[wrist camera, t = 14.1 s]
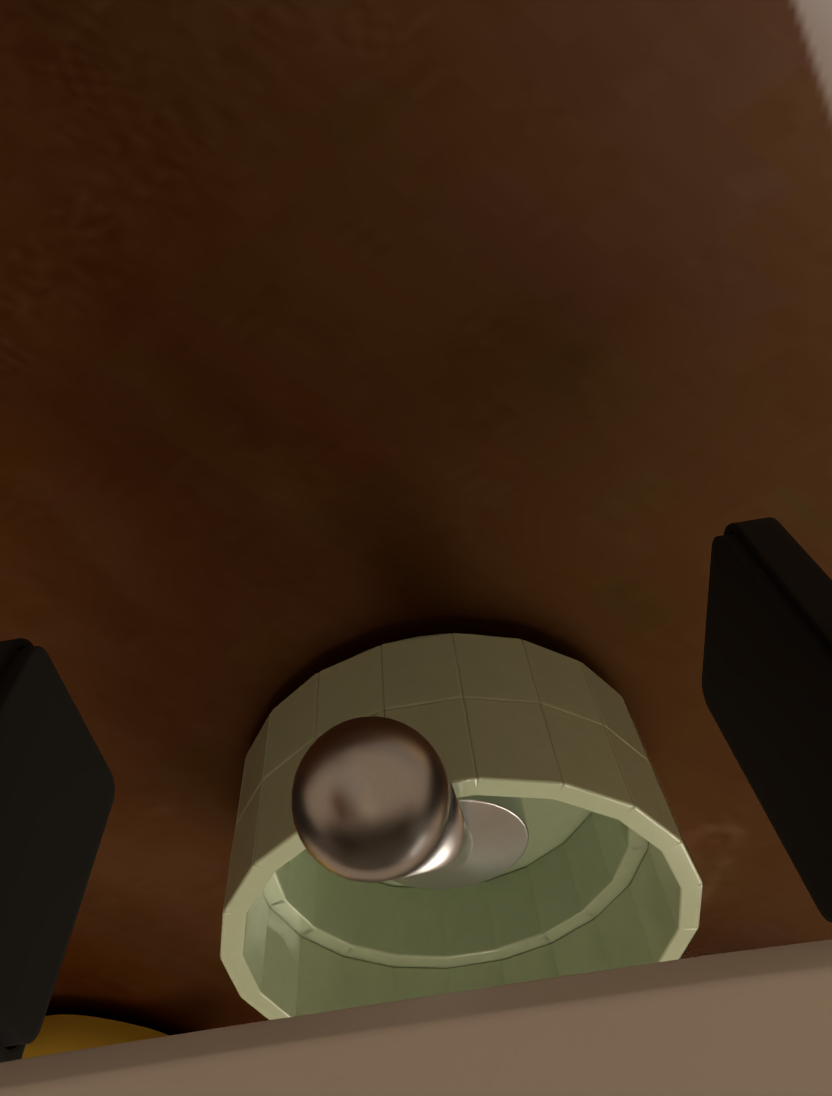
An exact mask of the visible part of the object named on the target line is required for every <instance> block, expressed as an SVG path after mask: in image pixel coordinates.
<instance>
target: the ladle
mask: <svg viewBox="0 0 832 1096" xmlns="http://www.w3.org/2000/svg"><path fill="white" fill-rule="evenodd" d="M291 808H292V814H293V820H294V825H295V827H296V830H297V832H298V835H299V838H300V840H301V841H302V843H303V845H304V846H305V848H306V849H307V851H308V852H309V854H310V855H311V856H312V857H313V858H314V859H315V860H316V861H317V862H318V863H319V864H320V865H322V866H323V867H325V868H326V869H327V870H329V871H330V872H332V873H334V874H336V875H338V876H339V877H342V878H345V879H348V880H351V881H356V882H363V883H375V882H384V881H388V880H393V881H395V882H398V883H400V884H403V885H407V886H410V887H415V888H422V889H453V888H461V887H466V886H470V885H474V884H478V883H481V882H484V881H487V880H489V879H491V878H494V877H496V876H497V875H499V874H501V873H503V872H504V871H506V870H507V869H509V868H510V867H511V866H513V865H514V864H515V863H516V862H517V861H518V860H519V859H520V858H521V856H522V855H523V853H524V852H525V850H526V848H527V844H528V840H529V832H528V828H527V823H526V819H525V814H524V809H523V805H522V800H521V798H517V797H499V796H482V795H473V796H466V797H460V798H457V797H456V794H455V792H454V789H453V787H452V784H451V782H450V779H449V777H448V774H447V772H446V769H445V767H444V764H443V762H442V760H441V758H440V756H439V754H438V753H437V752H436V750H435V749H434V747H433V746H432V745H431V744H430V742H429V741H428V740H427V739H426V738H425V737H424V736H422V735H421V734H420V733H419V732H418V731H416V730H415V729H413V728H412V727H410V726H408V725H406V724H404V723H402V722H399V721H396V720H393V719H391V718H385V717H378V716H367V717H358V718H354V719H350V720H346V721H344V722H342V723H340V724H338V725H336V726H334V727H332V728H330V729H329V730H328V731H326V732H325V733H324V734H322V735H321V736H320V737H319V738H318V739H317V740H316V741H315V742H314V743H313V744H312V745H311V746H310V747H309V749H308V751H307V752H306V754H305V755H304V757H303V758H302V760H301V762H300V764H299V767H298V769H297V772H296V774H295V778H294V783H293V788H292V803H291Z"/></svg>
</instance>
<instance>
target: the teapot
mask: <svg viewBox="0 0 832 1096" xmlns="http://www.w3.org/2000/svg"><path fill="white" fill-rule="evenodd" d="M164 1036H170V1035H167V1034H164V1033H162V1032H159V1031H156V1030H152V1029H149V1028H146V1027H142V1026H138V1025H134V1024H130V1023H125V1022H120V1021H115V1020H110V1019H104V1018H99V1017H92V1016H83V1015H67V1014H61V1015H49V1016H45V1018H44V1021H43V1024H42V1027H41V1029H40V1032H39V1034H38V1036H37V1037H36V1039H35V1040H34V1041H33V1042H31V1043H29V1044H26V1046H25V1049H24V1052H23V1055H22V1058H21V1059H24V1058H30V1057H36V1056H43V1055H49V1054H55V1053H62V1052H68V1051H75V1050H81V1049H87V1048H94V1047H100V1046H107V1045H113V1044H119V1043H126V1042H132V1041H139V1040H145V1039H151V1038H158V1037H164Z"/></svg>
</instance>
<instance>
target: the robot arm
mask: <svg viewBox="0 0 832 1096" xmlns="http://www.w3.org/2000/svg"><path fill="white" fill-rule="evenodd" d="M702 688H703V694H704V698H705V701H706V704H707V706H708V708H709V710H710V712H711V713H712V715H713V717H714V719H715V721H716V723H717V724H718V726H719V728H720V730H721V732H722V734H723V735H724V737H725V739H726V741H727V743H728V745H729V746H730V748H731V750H732V752H733V754H734V756H735V757H736V759H737V761H738V763H739V765H740V767H741V768H742V770H743V772H744V774H745V776H746V778H747V779H748V781H749V783H750V785H751V787H752V789H753V790H754V792H755V794H756V796H757V798H758V800H759V802H760V803H761V805H762V807H763V809H764V811H765V813H766V814H767V816H768V818H769V820H770V822H771V824H772V825H773V827H774V829H775V831H776V833H777V835H778V836H779V838H780V840H781V842H782V844H783V846H784V847H785V849H786V851H787V853H788V855H789V857H790V858H791V860H792V862H793V864H794V866H795V868H796V869H797V871H798V873H799V875H800V877H801V879H802V880H803V882H804V884H805V886H806V888H807V890H808V891H809V893H810V895H811V897H812V899H813V901H814V902H815V904H816V906H817V908H818V910H819V911H820V913H821V914H822V916H823V917H824V918H825V919H826V920H827V921H829V922H832V580H831V579H830V578H829V577H828V576H827V575H826V574H825V572H824V571H823V570H822V569H821V568H820V567H819V566H818V565H817V564H816V563H815V561H814V560H813V559H812V558H811V557H810V556H809V555H808V554H807V553H806V552H805V550H804V549H803V548H802V547H801V546H800V545H799V544H798V543H797V542H796V541H795V539H794V538H793V537H792V536H791V535H790V534H789V533H788V532H787V531H786V530H785V528H784V527H783V526H782V525H781V524H780V523H779V522H778V521H777V520H776V519H774V518H770V517H768V518H762V519H756V520H750V521H743V522H737V523H731V524H729V525H728V526H727V527H726V529H725V531H724V535H723V536H717V537H715V538H714V540H713V543H712V551H711V565H710V578H709V592H708V605H707V618H706V632H705V645H704V658H703V672H702ZM114 792H115V787H114V780H113V776H112V774H111V771H110V770H109V768H108V766H107V764H106V762H105V760H104V758H103V756H102V755H101V753H100V751H99V749H98V747H97V745H96V743H95V741H94V740H93V738H92V736H91V734H90V732H89V730H88V728H87V727H86V725H85V723H84V721H83V719H82V717H81V715H80V713H79V712H78V710H77V708H76V706H75V704H74V702H73V700H72V698H71V697H70V695H69V693H68V691H67V689H66V687H65V685H64V683H63V682H62V680H61V678H60V676H59V674H58V672H57V670H56V668H55V667H54V665H53V663H52V661H51V659H50V657H49V655H48V654H47V652H46V651H45V649H43V648H42V647H39V646H35V647H34V646H33V645H32V643H31V642H29V641H28V640H27V639H22V638H20V639H13V640H7V641H1V642H0V1096H832V939H830V940H822V941H814V942H807V943H799V944H791V945H783V946H775V947H767V948H760V949H752V950H744V951H736V952H728V953H720V954H713V955H706V956H699V957H692V958H685V959H678V960H671V961H665V962H658V963H651V964H644V965H637V966H630V967H623V968H616V969H610V970H603V971H596V972H589V973H582V974H575V975H568V976H561V977H555V978H548V979H541V980H534V981H527V982H520V983H513V984H506V985H500V986H493V987H486V988H479V989H473V990H466V991H459V992H453V993H446V994H439V995H433V996H426V997H419V998H413V999H406V1000H399V1001H393V1002H386V1003H379V1004H373V1005H366V1006H360V1007H353V1008H346V1009H340V1010H333V1011H327V1012H320V1013H313V1014H307V1015H300V1016H294V1017H287V1018H280V1019H274V1020H267V1021H261V1022H254V1023H248V1024H241V1025H234V1026H228V1027H222V1028H215V1029H209V1030H203V1031H196V1032H190V1033H183V1034H177V1035H171V1036H164V1037H158V1038H151V1039H145V1040H139V1041H132V1042H126V1043H119V1044H113V1045H107V1046H100V1047H94V1048H87V1049H81V1050H75V1051H68V1052H62V1053H55V1054H49V1055H43V1056H36V1057H30V1058H24V1059H21V1058H22V1055H23V1052H24V1049H25V1046H26V1044H29V1043H31V1042H33V1041H34V1040H35V1039H36V1037H37V1036H38V1034H39V1032H40V1029H41V1027H42V1024H43V1021H44V1018H45V1015H46V1012H47V1008H48V1005H49V1002H50V999H51V996H52V993H53V990H54V986H55V983H56V980H57V977H58V974H59V971H60V967H61V964H62V961H63V958H64V955H65V952H66V949H67V945H68V942H69V939H70V936H71V933H72V930H73V926H74V923H75V920H76V917H77V914H78V911H79V907H80V904H81V901H82V898H83V895H84V892H85V889H86V885H87V882H88V879H89V876H90V873H91V870H92V866H93V863H94V860H95V857H96V854H97V851H98V848H99V844H100V841H101V838H102V835H103V832H104V829H105V825H106V822H107V819H108V816H109V813H110V810H111V806H112V803H113V799H114Z"/></svg>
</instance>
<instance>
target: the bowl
mask: <svg viewBox="0 0 832 1096" xmlns="http://www.w3.org/2000/svg"><path fill="white" fill-rule="evenodd" d="M367 716H378V717H385V718H391V719H393V720H396V721H399V722H402V723H404V724H406V725H408V726H410V727H412V728H413V729H415V730H416V731H418V732H419V733H420V734H421V735H422V736H424V737H425V738H426V739H427V740H428V741H429V742H430V744H431V745H432V746H433V747H434V749H435V750H436V752H437V753H438V754H439V756H440V758H441V760H442V762H443V764H444V767H445V769H446V772H447V774H448V777H449V779H450V782H451V784H452V787H453V789H454V792H455V794H456V797H457V798H460V797H466V796H473V795H482V796H499V797H517V798H521V800H522V805H523V809H524V814H525V819H526V823H527V828H528V832H529V840H528V844H527V848H526V850H525V852H524V853H523V855H522V856H521V858H520V859H519V860H518V861H517V862H516V863H515V864H514V865H513V866H511V867H510V868H509V869H507V870H506V871H504V872H503V873H501V874H499V875H497V876H496V877H494V878H491V879H489V880H487V881H484V882H481V883H478V884H474V885H470V886H466V887H461V888H453V889H422V888H415V887H410V886H407V885H403V884H400V883H398V882H395V881H393V880H388V881H384V882H375V883H363V882H356V881H351V880H348V879H345V878H342V877H339V876H338V875H336V874H334V873H332V872H330V871H329V870H327V869H326V868H325V867H323V866H322V865H320V864H319V863H318V862H317V861H316V860H315V859H314V858H313V857H312V856H311V855H310V854H309V852H308V851H307V849H306V848H305V846H304V845H303V843H302V841H301V840H300V838H299V835H298V832H297V830H296V827H295V825H294V820H293V814H292V808H291V803H292V788H293V783H294V778H295V774H296V772H297V769H298V767H299V764H300V762H301V760H302V758H303V757H304V755H305V754H306V752H307V751H308V749H309V747H310V746H311V745H312V744H313V743H314V742H315V741H316V740H317V739H318V738H319V737H320V736H321V735H322V734H324V733H325V732H326V731H328V730H329V729H330V728H332V727H334V726H336V725H338V724H340V723H342V722H344V721H346V720H350V719H354V718H358V717H367ZM702 887H703V883H702V879H701V877H700V874H699V872H698V870H697V867H696V865H695V863H694V860H693V858H692V856H691V853H690V851H689V849H688V846H687V844H686V841H685V839H684V837H683V834H682V832H681V830H680V827H679V825H678V823H677V820H676V818H675V815H674V813H673V811H672V808H671V806H670V804H669V802H668V799H667V797H666V794H665V792H664V789H663V787H662V785H661V782H660V780H659V778H658V775H657V773H656V771H655V768H654V766H653V763H652V761H651V759H650V756H649V754H648V752H647V749H646V747H645V745H644V742H643V740H642V738H641V735H640V733H639V731H638V729H637V727H636V725H635V723H634V721H633V719H632V717H631V714H630V712H629V710H628V708H627V706H626V704H625V702H624V700H623V698H622V697H621V695H620V694H619V693H617V692H616V691H615V690H614V689H613V688H611V687H610V686H609V685H608V684H607V683H606V682H604V681H603V680H602V679H601V678H600V677H598V676H597V675H596V674H595V673H594V672H593V671H591V670H590V669H589V668H588V667H587V666H585V665H584V664H583V663H582V662H579V661H578V660H575V659H573V658H570V657H568V656H565V655H562V654H560V653H557V652H554V651H552V650H549V649H547V648H544V647H541V646H539V645H536V644H533V643H531V642H528V641H526V640H521V639H518V638H507V637H496V636H488V635H478V634H462V633H452V634H451V633H448V634H435V635H426V636H417V637H412V638H408V639H403V640H398V641H394V642H390V643H385V644H382V645H381V646H376V647H374V648H371V649H368V650H366V651H364V652H362V653H359V654H357V655H355V656H353V657H350V658H348V659H346V660H344V661H342V662H340V663H337V664H335V665H333V666H330V667H328V668H326V669H323V670H321V671H320V672H319V673H316V674H314V675H313V676H312V677H311V678H310V679H308V680H307V681H306V682H305V683H304V684H303V685H301V686H300V687H299V688H298V689H297V690H295V691H294V692H293V693H292V694H291V695H289V696H288V697H287V698H286V699H285V700H283V701H282V702H281V703H280V704H279V705H277V706H276V707H275V708H274V709H273V710H272V712H271V713H270V714H269V716H268V718H267V719H266V721H265V723H264V725H263V726H262V728H261V730H260V732H259V734H258V735H257V737H256V739H255V741H254V742H253V744H252V746H251V748H250V749H249V751H248V753H247V756H246V758H245V764H244V771H243V778H242V784H241V791H240V798H239V805H238V811H237V818H236V825H235V831H234V838H233V845H232V852H231V858H230V865H229V872H228V878H227V885H226V892H225V898H224V905H223V912H222V928H221V944H220V959H221V961H222V963H223V965H224V966H225V968H226V970H227V972H228V974H229V976H230V978H231V980H232V982H233V984H234V986H235V988H236V989H237V991H238V993H239V995H240V997H241V998H242V999H243V1000H245V1001H246V1002H247V1003H248V1004H250V1005H251V1006H252V1007H253V1008H255V1009H256V1010H257V1011H259V1012H260V1013H261V1014H262V1015H264V1016H265V1017H266V1018H267V1019H269V1020H274V1019H280V1018H287V1017H294V1016H300V1015H307V1014H313V1013H320V1012H327V1011H333V1010H340V1009H346V1008H353V1007H360V1006H366V1005H373V1004H379V1003H386V1002H393V1001H399V1000H406V999H413V998H419V997H426V996H433V995H439V994H446V993H453V992H459V991H466V990H473V989H479V988H486V987H493V986H500V985H506V984H513V983H520V982H527V981H534V980H541V979H548V978H555V977H561V976H568V975H575V974H582V973H589V972H596V971H603V970H610V969H616V968H623V967H630V966H637V965H644V964H651V963H658V962H665V961H671V960H678V959H680V957H681V956H682V954H683V952H684V951H685V949H686V947H687V946H688V944H689V943H690V941H691V939H692V938H693V936H694V934H695V933H696V931H697V930H698V927H699V919H700V908H701V897H702Z"/></svg>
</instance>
